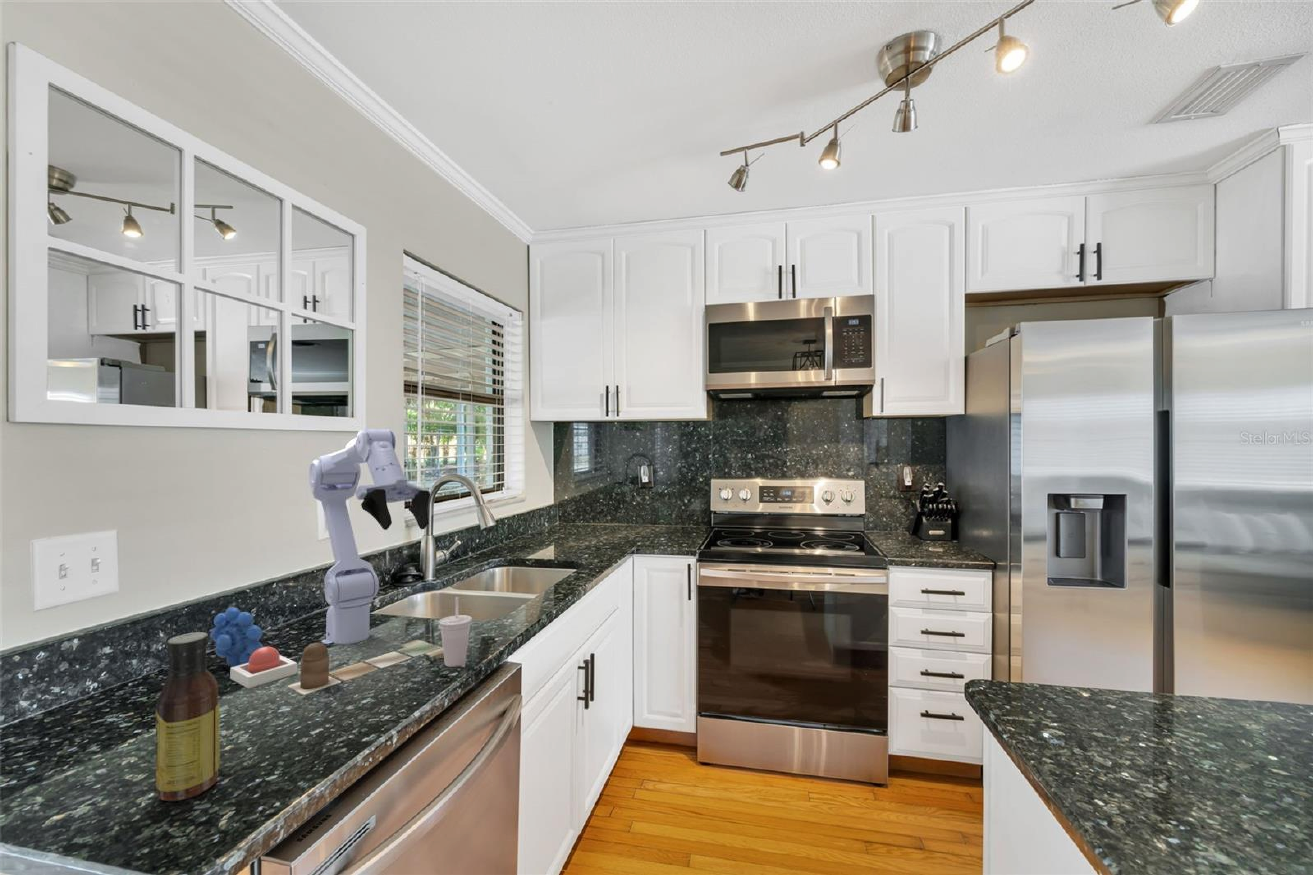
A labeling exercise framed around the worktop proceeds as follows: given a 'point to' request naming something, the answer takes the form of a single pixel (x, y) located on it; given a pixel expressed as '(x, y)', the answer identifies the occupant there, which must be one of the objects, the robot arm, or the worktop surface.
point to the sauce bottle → (187, 722)
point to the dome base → (262, 673)
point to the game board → (377, 663)
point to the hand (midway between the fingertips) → (406, 526)
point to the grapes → (236, 636)
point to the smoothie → (455, 638)
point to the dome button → (263, 660)
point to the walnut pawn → (314, 666)
